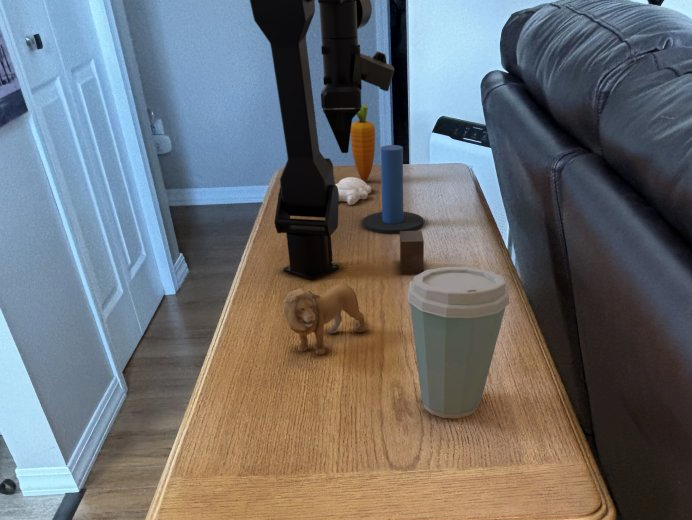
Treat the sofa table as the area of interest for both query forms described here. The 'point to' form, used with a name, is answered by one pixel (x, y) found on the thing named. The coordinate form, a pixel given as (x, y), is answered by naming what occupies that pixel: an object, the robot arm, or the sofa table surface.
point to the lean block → (411, 252)
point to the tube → (392, 183)
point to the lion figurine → (320, 313)
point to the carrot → (363, 143)
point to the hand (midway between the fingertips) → (345, 146)
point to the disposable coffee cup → (455, 335)
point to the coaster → (408, 223)
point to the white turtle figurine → (352, 190)
